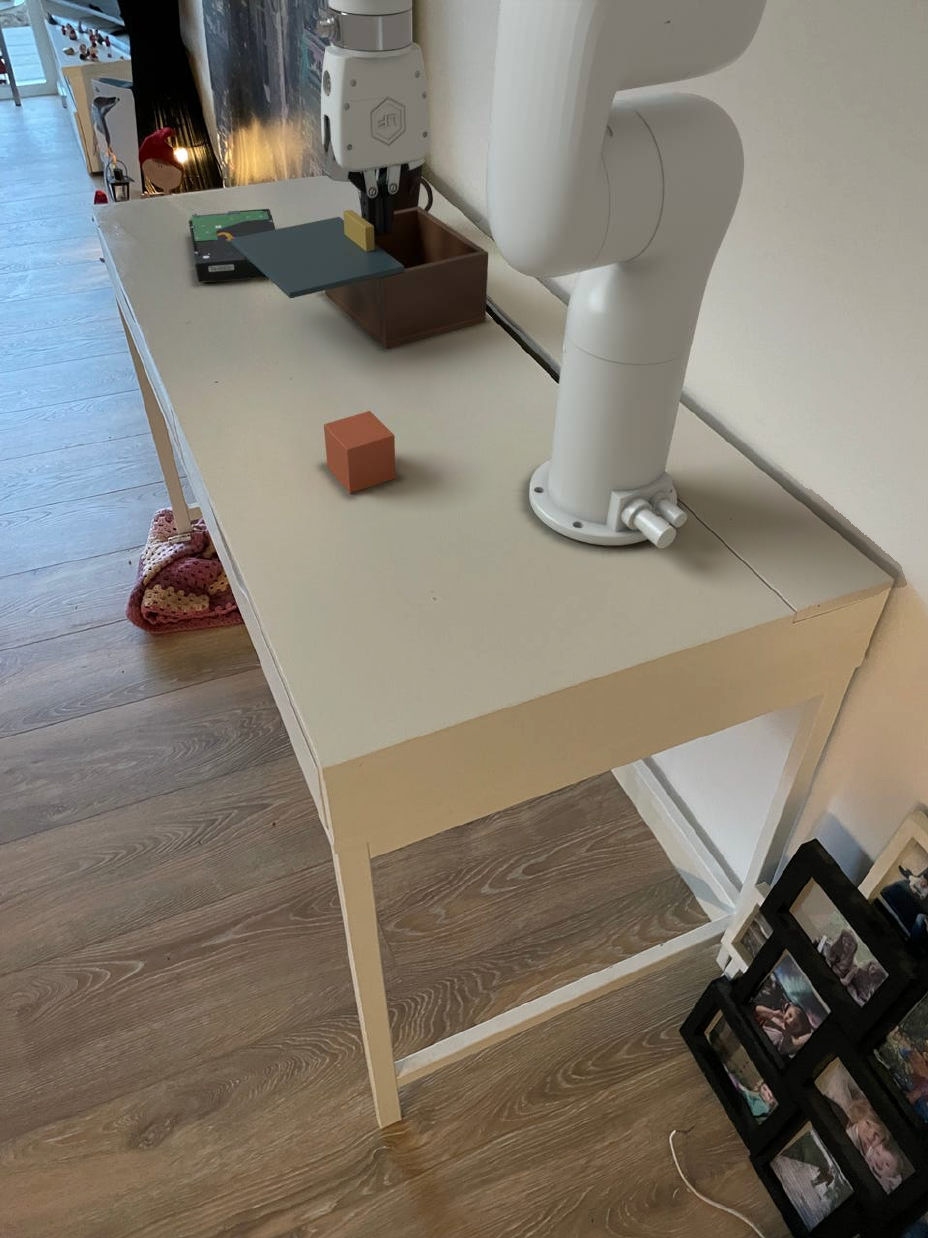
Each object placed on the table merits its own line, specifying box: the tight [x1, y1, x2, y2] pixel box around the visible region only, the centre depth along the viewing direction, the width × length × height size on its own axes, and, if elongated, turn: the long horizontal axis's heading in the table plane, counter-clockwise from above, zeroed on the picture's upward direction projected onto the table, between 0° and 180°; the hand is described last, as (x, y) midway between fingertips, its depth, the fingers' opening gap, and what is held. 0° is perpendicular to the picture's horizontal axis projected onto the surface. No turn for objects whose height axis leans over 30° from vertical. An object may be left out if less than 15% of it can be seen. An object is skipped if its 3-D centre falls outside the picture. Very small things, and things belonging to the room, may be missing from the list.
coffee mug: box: [357, 163, 434, 213], centre depth 116 cm, size 12×9×10 cm
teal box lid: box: [231, 209, 404, 299], centre depth 96 cm, size 15×13×3 cm
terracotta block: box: [323, 410, 397, 494], centre depth 82 cm, size 4×4×4 cm
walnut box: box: [324, 205, 489, 349], centre depth 104 cm, size 15×13×8 cm
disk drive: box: [188, 208, 277, 283], centre depth 114 cm, size 10×3×15 cm
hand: (378, 230), depth 99 cm, fingers closed
